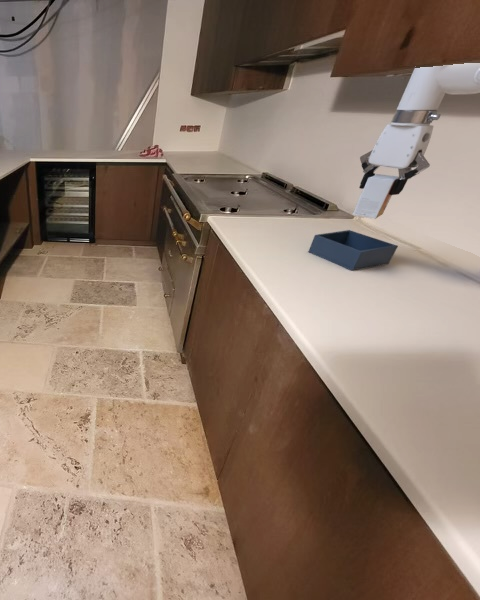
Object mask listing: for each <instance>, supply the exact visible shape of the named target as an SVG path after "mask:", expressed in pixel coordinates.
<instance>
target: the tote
mask: <svg viewBox="0 0 480 600" xmlns="http://www.w3.org/2000/svg"><path fill="white" fill-rule="evenodd" d="M398 248H399V245H397V244H394V243H391V242H388V241H384V240H381V239H379V238H375V237H372V236H369V235H366V234H362V233H359V232H356V231H354V230H350V229H346V230H340V231H332V232H326V233H325V232H324V233H319V234H315V235H314V237H313V239H312V241H311V243H310V247H309V249H308V251H307V252H308V253H310V254H313V255H315V256H317V257H319V258H322V259H323V260H325V261H328V262H331V263H334V264H336V265H338V266H341V267H343V268H345V269H348V270H350V271H353V272H354V271H358V270H363V269H368V268H374V267H379V266H384V265H389V264H390V262H391V260H392V259H393V257H394V254H395V252H396V251H397V249H398Z"/></svg>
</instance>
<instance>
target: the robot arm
mask: <svg viewBox="0 0 480 600" xmlns="http://www.w3.org/2000/svg"><path fill="white" fill-rule="evenodd" d="M479 93H480V63H464V64H453V65H443V66H433V67H420V68H415V67H414V69H413V70H412V73H411V76H410V78H409V80H408V82H407V85H406V87H405V90H404V92H403V94H402V96H401V98H400V101H399V103H398V106H397V108H396V109H395V112H394V114H393V117H392V119H391V121H390V123H388V124H386V126H385V127H384V128H383V131H382V132H381V134H380V135H379V137H378V139H377V141H376V143H375V144H374V146H373V149H372V150H370V151H368V152H366V153H365V154H363V155H361V156H360V157H359V160H360V163H361V168H362V174H363V176H362V178H361V181H360V185H359V189H361V190H363V189H364V187H365V184H366V182H367V180H368V178H369V177H372V176H375V175H376V173H375V172H376V171H377V170H378V169H379V168H380V167H385V168H391V169H392V168H393V169H398V171H397V172H398V177H399V179H396V180H395V182H394V184H393V186H392V188H391V190H390V192H389V195H392V196H395V195H400V194H401V193H402V191H403V190H404V188H405V186H406V184H407V182H408V181H409V180H411V179H412V178H413V177H416V176H417V175H419V174H420V173H422V172H423V171H425V170H426V169H428V168H429V167H430V166H431V164H430V162H429V161H428V159H426V157H425V153H426V151H427V149H428V147H429V143H430V142H431V138H432V135H433V131H434V125H431V124H432V123H433V121H438V120H439V119H440V118H441V113H438V109H439V108H440V105H441V103H442V102H443V99H444V97H445V95H446V94H447V95H474V94H479ZM412 168H414V169H412Z"/></svg>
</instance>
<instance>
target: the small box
mask: <svg viewBox="0 0 480 600" xmlns="http://www.w3.org/2000/svg"><path fill="white" fill-rule="evenodd" d="M396 179H399V175H398V176H397V175H387V174H379V173H375V176H372V177H369V178H368V180H367V182H366V184H365V187H364V189H362V191H361V194H360V196H359V198H358V200H357V203H356V205H355V208H354V210H353V212H352V216H355V217H362V218H368V219H373V220H376V219H378V218H379V217H381V216H382V215H384V212H385V210H386V208H387V206H388V204H389V202H390V200H391V199H392V196H393V195H389V192H390V190H391V188H392V186H393V184H394V182H395V180H396Z"/></svg>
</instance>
